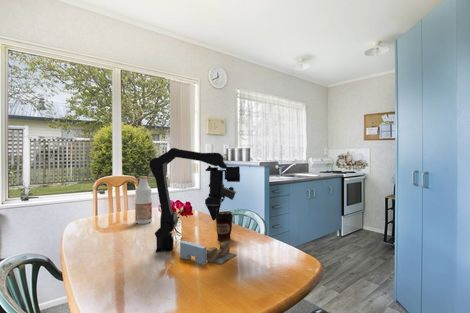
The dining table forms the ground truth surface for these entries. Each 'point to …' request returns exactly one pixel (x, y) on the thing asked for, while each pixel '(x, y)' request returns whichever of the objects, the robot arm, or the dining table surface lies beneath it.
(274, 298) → the dining table surface
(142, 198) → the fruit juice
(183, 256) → the pale blue slat
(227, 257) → the slotted base
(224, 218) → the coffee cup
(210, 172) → the robot arm
